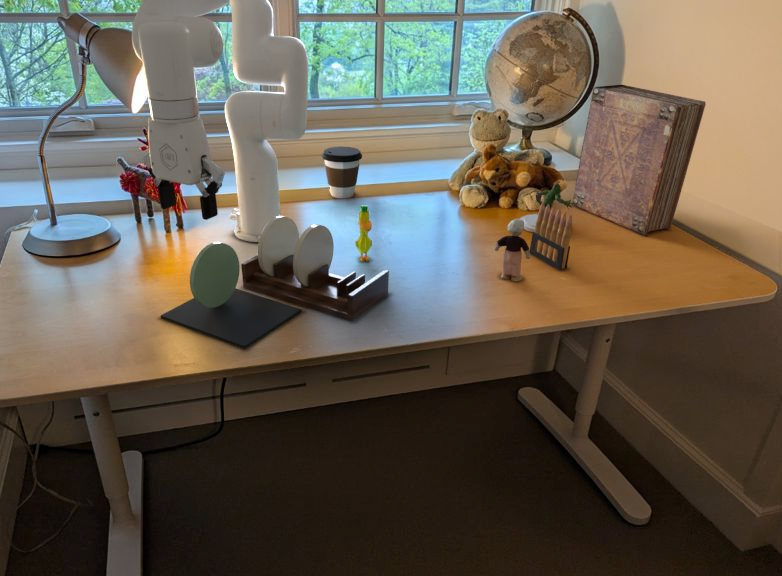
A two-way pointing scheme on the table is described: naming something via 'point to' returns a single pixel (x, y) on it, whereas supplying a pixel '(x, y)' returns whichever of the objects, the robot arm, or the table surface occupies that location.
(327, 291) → the plate rack
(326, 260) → the cream plate
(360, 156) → the coffee cup
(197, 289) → the green plate
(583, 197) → the book
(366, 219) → the toy figure
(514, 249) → the grandmother figurine
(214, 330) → the mat
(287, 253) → the cream plate
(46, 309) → the table surface
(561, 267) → the ammunition clip
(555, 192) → the monster figurine
